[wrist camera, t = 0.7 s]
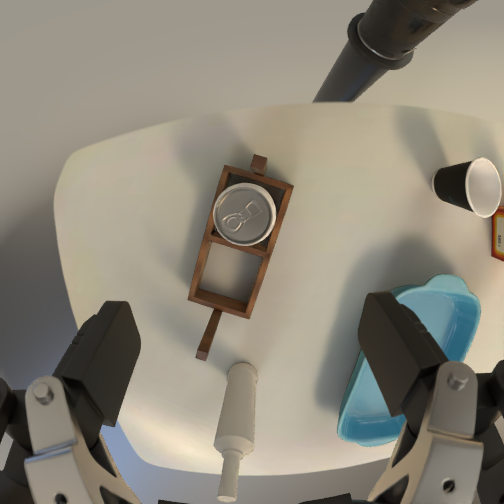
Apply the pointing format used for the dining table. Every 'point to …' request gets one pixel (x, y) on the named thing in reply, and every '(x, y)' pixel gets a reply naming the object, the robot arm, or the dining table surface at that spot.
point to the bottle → (236, 426)
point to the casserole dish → (445, 334)
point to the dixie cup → (470, 186)
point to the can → (244, 214)
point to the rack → (211, 235)
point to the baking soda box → (498, 233)
